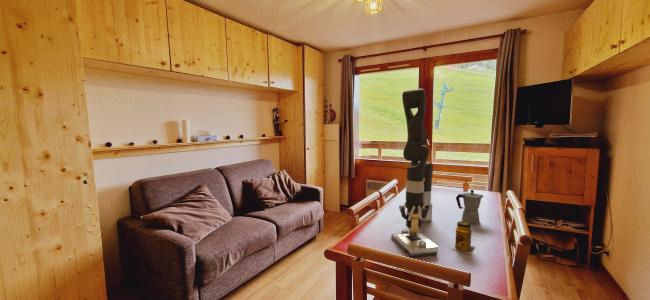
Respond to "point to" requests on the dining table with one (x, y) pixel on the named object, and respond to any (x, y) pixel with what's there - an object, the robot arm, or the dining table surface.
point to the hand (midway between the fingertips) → (413, 227)
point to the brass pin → (414, 224)
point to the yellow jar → (463, 237)
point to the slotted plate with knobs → (415, 244)
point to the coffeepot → (470, 206)
